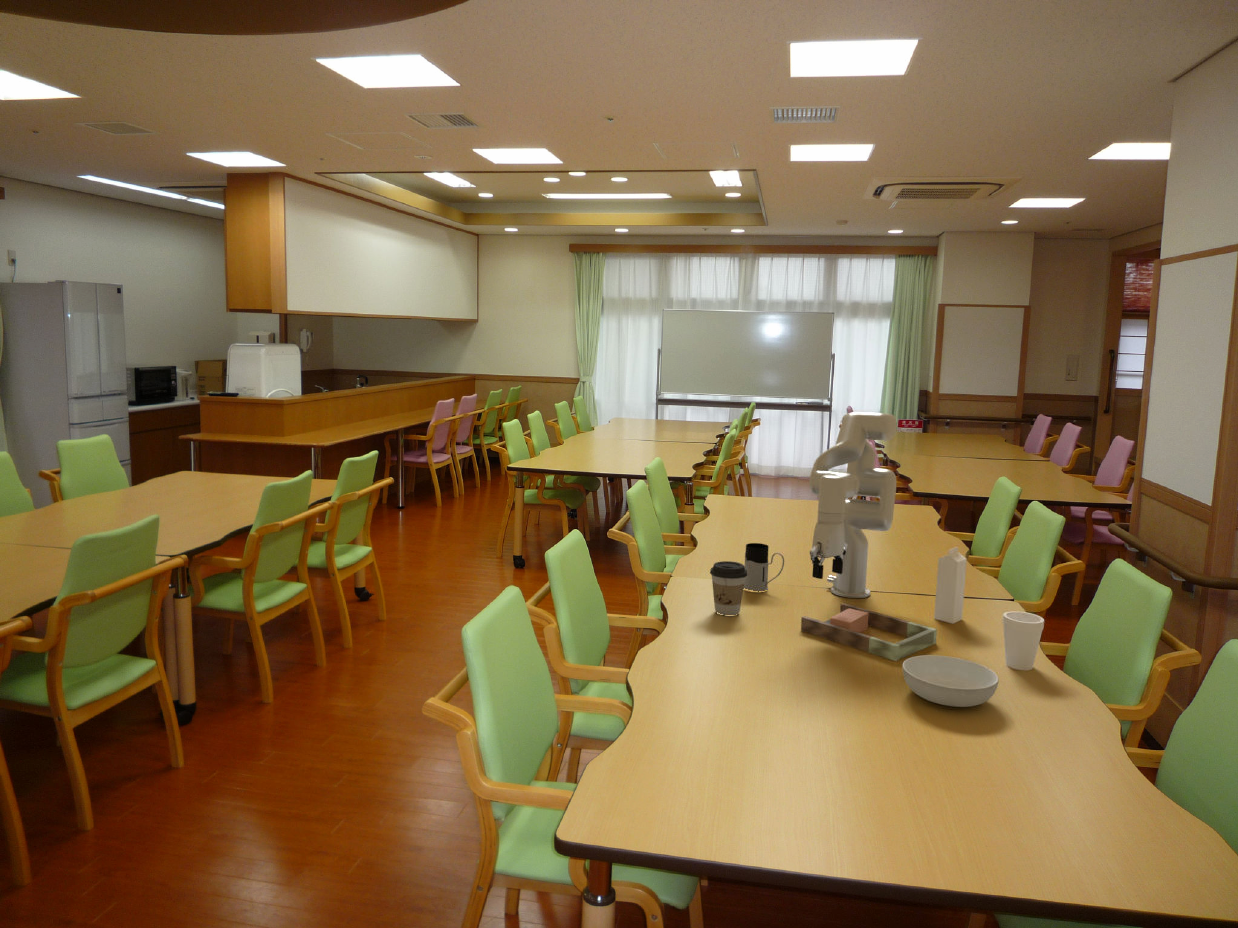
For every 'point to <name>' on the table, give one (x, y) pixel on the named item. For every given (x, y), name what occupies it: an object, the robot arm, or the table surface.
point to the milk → (950, 587)
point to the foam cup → (1021, 638)
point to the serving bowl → (949, 680)
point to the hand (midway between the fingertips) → (827, 575)
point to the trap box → (916, 633)
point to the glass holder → (758, 566)
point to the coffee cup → (728, 586)
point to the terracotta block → (851, 620)
